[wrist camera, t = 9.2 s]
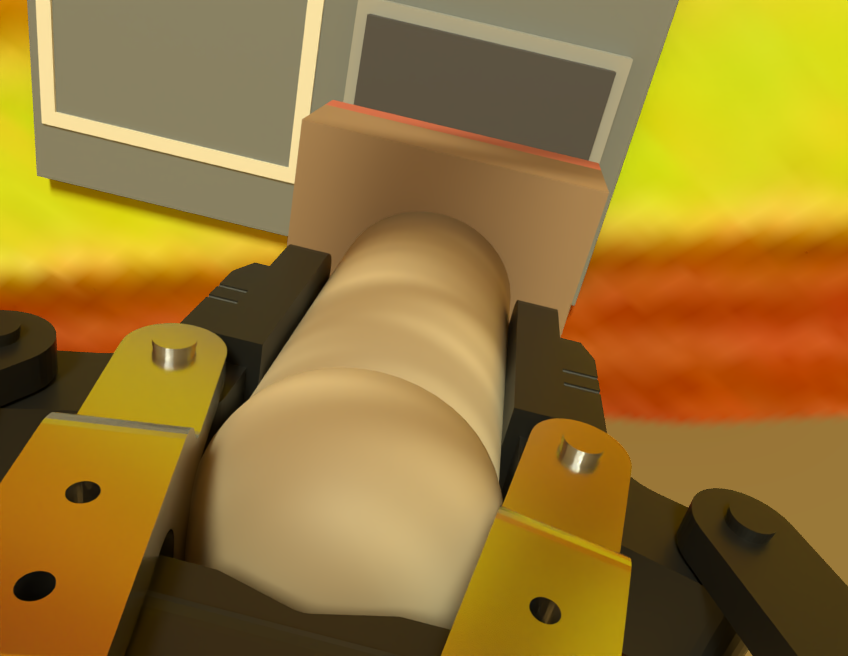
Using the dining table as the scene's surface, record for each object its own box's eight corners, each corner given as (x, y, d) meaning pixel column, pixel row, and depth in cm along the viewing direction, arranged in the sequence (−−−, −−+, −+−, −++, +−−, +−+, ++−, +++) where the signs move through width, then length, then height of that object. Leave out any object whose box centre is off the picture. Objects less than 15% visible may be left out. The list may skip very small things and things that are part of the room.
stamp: (598, 162, 14) (721, 502, 5) (525, 389, 17) (518, 884, 8) (332, 99, 14) (-14, 318, 5) (300, 333, 17) (31, 753, 8)
